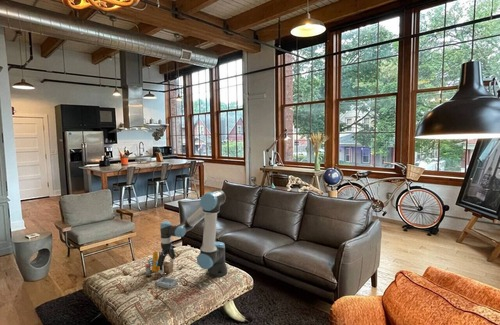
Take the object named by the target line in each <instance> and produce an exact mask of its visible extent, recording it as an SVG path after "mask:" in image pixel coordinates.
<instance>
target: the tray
mask: <svg viewBox="0 0 500 325" xmlns="http://www.w3.org/2000/svg"><path fill="white" fill-rule="evenodd" d="M178 284H179V283H178V278H177V279H176V278H171V277H167V276H163V277H161V278H159V279H158V280H157V281H155V286H156V287H159V286H160V287H161V288H164V289H168V288H169V289H168V290H171V289H172V288H173V287H175V286H176V285H178Z"/></svg>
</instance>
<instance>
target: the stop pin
mask: <svg viewBox="0 0 500 325" xmlns="http://www.w3.org/2000/svg"><path fill="white" fill-rule="evenodd" d="M151 265H152V264H149V263H146V264H145V265H144V267H145V275H146V278H150V277H151V274H152V272H151V271H152V269H151V267H152V266H151ZM150 266H151V267H150Z"/></svg>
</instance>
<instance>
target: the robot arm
mask: <svg viewBox="0 0 500 325" xmlns="http://www.w3.org/2000/svg"><path fill="white" fill-rule="evenodd" d="M226 198H227V195H226V193H225V192H224V191H223V190H222V189H219V188H218V189H214V190H211V191H208V192H205V193H204V194H202V196H201V197H200V201H199V204H200V207H199V208H198V209H197V210H196V211H195V212H193V213H192V214H191V215H190V216H189V217H188V218H187V219H186V220H185V221H183V222H181V223H179V224H177V225H173V224H172V223H171V221H168V220H165V221H161V223H160V224H159V226H160V227H159V228H160V248H161V251H158V264H157V266H160V270H159V273H160V274H161V275H165V274H164V266H163V263H164V261H166V260H165V259H166V257H167V255H168V256H169V258H170V259H169V262H170V263H173V268H174V267H175V266H174V265H175V264H174V263H175V260H174V259H176V253H175V250H174V245H172V237H177V238H183V237H184V236H185V235H186V233H187V232H189V231H191V230H192V229H194V227H195V226H196V225H198V224H199V223H200V221H202V220H203V234H202V235H203V236H202V237H203V238H202V245H201V247H200V248H199V254H198V255H197V257H196V263H197V265H198V266H199V267H200V268H201V269H204V270H206V272H207V276H209V277H213V278H218V277H219V278H220V277H224V276H225V275H227V274H228V272H229V271H228V266H227V264H226V246H225V245H226V244H225V242H222V241H216V236H217V222H218V221H217V220H218V213H220V211H221V209H220V208H221V206H222V205H224V203H225V202H226Z"/></svg>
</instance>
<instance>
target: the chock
mask: <svg viewBox="0 0 500 325" xmlns="http://www.w3.org/2000/svg"><path fill="white" fill-rule="evenodd" d="M163 266H164V273H166V274H165V275H168V274H169V275H171V274H172V273H173V272H174V267H173V263H170V261H166V260H164V263H163ZM170 273H171V274H170Z"/></svg>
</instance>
